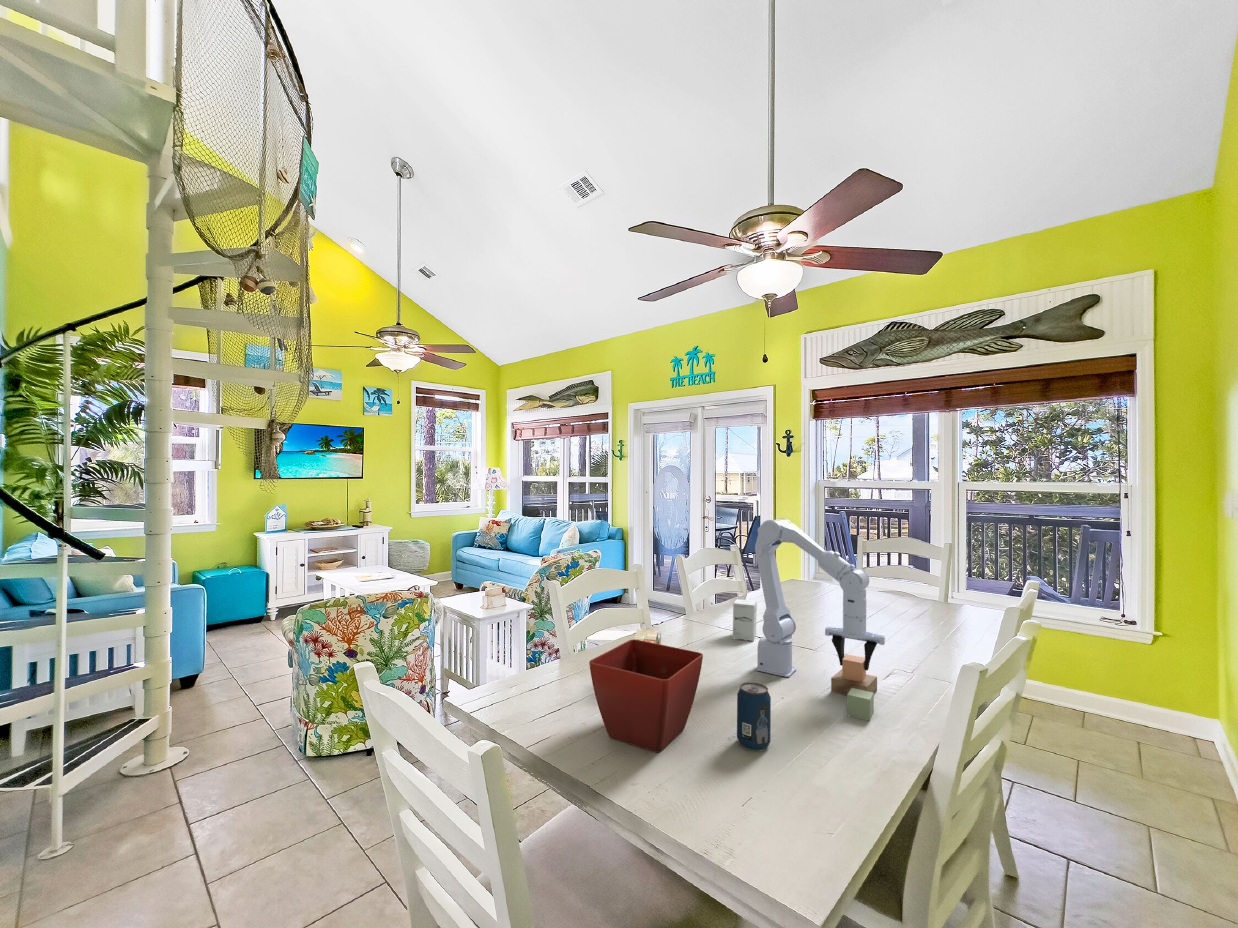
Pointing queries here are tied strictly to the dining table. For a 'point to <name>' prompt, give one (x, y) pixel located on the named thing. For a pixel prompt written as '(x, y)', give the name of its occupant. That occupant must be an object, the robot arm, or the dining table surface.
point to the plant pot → (645, 691)
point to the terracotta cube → (853, 668)
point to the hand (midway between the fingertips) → (854, 666)
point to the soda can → (753, 716)
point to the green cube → (860, 704)
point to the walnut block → (852, 684)
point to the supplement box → (744, 619)
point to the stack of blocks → (648, 636)
